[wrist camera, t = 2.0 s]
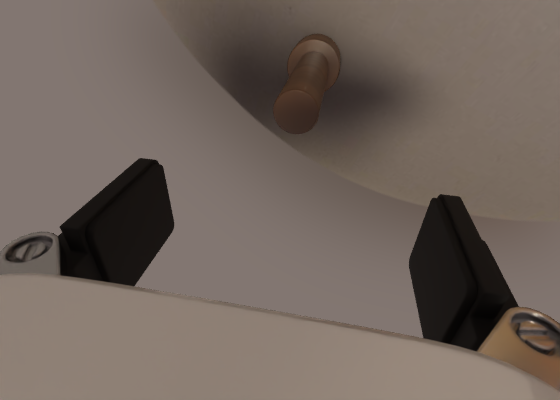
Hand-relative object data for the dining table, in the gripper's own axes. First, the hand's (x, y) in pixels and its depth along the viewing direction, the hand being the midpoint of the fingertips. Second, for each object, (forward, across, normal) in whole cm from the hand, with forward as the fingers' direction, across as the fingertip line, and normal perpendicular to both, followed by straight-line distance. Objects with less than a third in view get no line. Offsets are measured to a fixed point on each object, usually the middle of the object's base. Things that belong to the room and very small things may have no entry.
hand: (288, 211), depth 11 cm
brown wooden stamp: (+22, +1, 0) cm, 23 cm away
